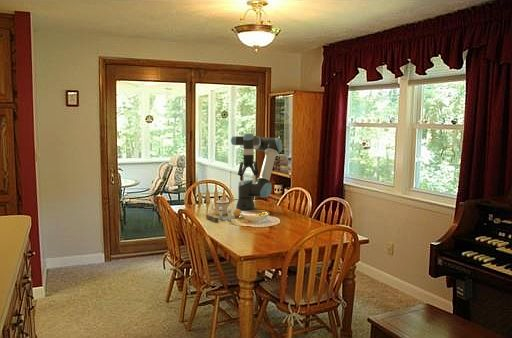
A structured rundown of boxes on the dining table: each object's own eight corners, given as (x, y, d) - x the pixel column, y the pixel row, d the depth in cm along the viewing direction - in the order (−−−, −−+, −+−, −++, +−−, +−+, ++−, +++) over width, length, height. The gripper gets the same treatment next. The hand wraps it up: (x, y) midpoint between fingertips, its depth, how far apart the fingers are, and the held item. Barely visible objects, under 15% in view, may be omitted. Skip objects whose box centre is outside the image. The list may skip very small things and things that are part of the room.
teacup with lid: (227, 212, 350) (227, 197, 349) (228, 214, 341) (228, 199, 340) (211, 212, 348) (211, 197, 347) (212, 215, 339) (212, 199, 338)
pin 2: (230, 220, 323) (230, 208, 322) (231, 220, 321) (231, 208, 320) (227, 220, 322) (227, 208, 321) (228, 221, 320) (228, 209, 319)
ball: (238, 215, 338) (238, 207, 337) (242, 217, 333) (242, 209, 332) (231, 216, 334) (231, 208, 334) (235, 218, 329) (236, 210, 329)
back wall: (206, 218, 327) (206, 214, 327) (208, 218, 328) (208, 214, 328) (215, 222, 315) (215, 218, 315) (218, 222, 317) (218, 217, 316)
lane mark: (237, 215, 339) (237, 215, 339) (243, 217, 332) (243, 217, 332) (216, 218, 328) (216, 218, 328) (222, 220, 322) (222, 220, 322)
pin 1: (221, 218, 327) (221, 207, 326) (223, 219, 325) (223, 207, 324) (218, 219, 326) (218, 207, 325) (220, 219, 324) (220, 208, 323)
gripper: (258, 153, 343) (257, 182, 346) (232, 154, 331) (232, 184, 333) (263, 154, 337) (263, 183, 340) (238, 155, 325) (238, 186, 327)
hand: (248, 184), depth 336 cm, fingers open, 10 cm apart
